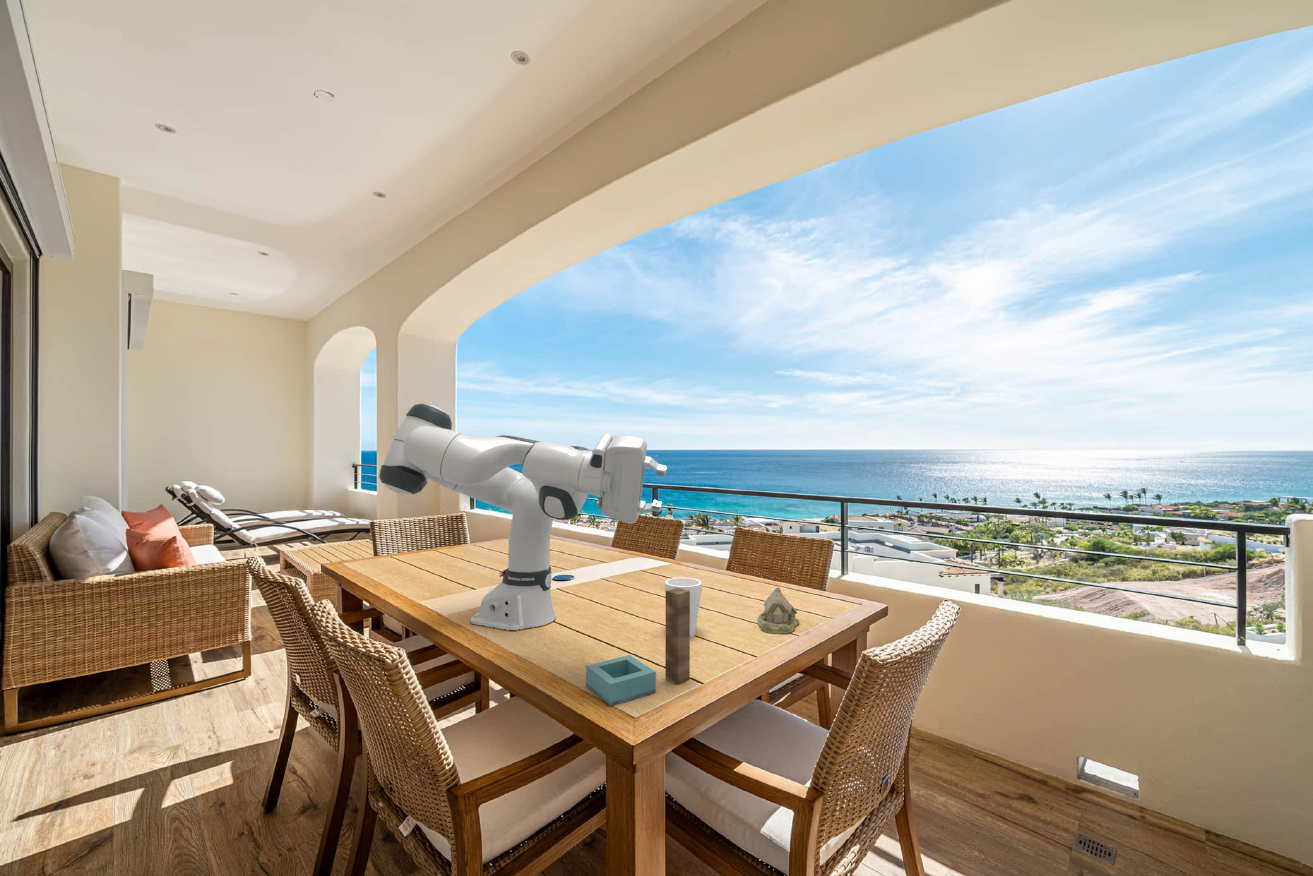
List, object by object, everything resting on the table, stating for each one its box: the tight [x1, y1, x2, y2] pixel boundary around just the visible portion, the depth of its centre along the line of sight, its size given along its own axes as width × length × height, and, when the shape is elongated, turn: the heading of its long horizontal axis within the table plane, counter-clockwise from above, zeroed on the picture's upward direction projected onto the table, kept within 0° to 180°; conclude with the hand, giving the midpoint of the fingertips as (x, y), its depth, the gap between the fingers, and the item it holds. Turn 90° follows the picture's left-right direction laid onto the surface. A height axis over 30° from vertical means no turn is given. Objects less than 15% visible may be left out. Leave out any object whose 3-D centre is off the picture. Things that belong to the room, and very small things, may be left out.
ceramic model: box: [757, 587, 800, 635], centre depth 143 cm, size 14×11×10 cm
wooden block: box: [664, 588, 691, 685], centre depth 109 cm, size 4×4×18 cm
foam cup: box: [664, 577, 703, 638], centre depth 136 cm, size 10×9×13 cm
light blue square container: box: [585, 654, 657, 707], centre depth 105 cm, size 10×10×4 cm
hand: (663, 489), depth 108 cm, fingers open, 8 cm apart
